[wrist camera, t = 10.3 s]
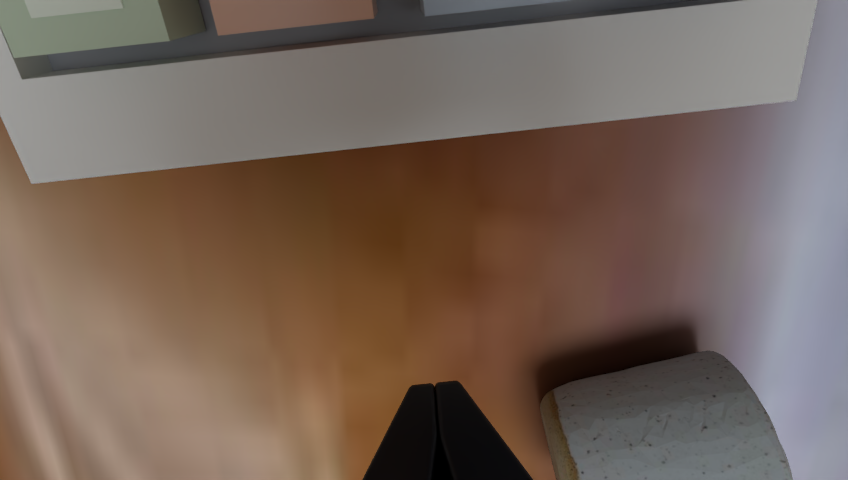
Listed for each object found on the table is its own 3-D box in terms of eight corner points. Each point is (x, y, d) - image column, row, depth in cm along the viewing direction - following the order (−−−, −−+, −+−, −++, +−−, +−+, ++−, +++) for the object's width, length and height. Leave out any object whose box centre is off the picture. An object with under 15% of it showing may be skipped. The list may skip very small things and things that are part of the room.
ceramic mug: (520, 358, 25) (568, 508, 18) (697, 314, 24) (816, 452, 17) (557, 500, 30) (605, 660, 23) (705, 466, 29) (800, 622, 22)
